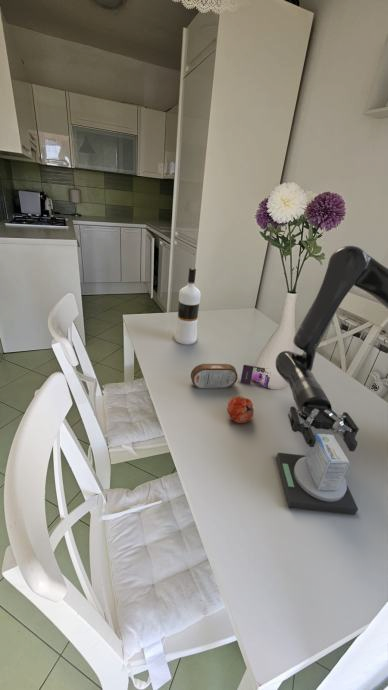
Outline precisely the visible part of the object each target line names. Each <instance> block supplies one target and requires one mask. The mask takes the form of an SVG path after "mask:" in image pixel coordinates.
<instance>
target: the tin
mask: <svg viewBox="0 0 388 690" xmlns="http://www.w3.org/2000/svg"><path fill="white" fill-rule="evenodd" d="M236 369H237V368H236V367H235V366H234V365H232V364H229V363H201V364H198V365H196V366H195V367H193V369H192V370H191V373H190V379H191V383H192V384H193V386H195V388H198V389H212V388H213V389H215V388H217V389H218V388H220V389H221V388H231V387H233V386H234V385H235V384H236V382H237V380H238V373H237V370H236Z"/></svg>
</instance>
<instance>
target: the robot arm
mask: <svg viewBox="0 0 388 690" xmlns="http://www.w3.org/2000/svg"><path fill="white" fill-rule="evenodd" d="M353 287H356V288H358V289H360V290H362V291H364V292H366V293H367V294H369V295H371V296H372V297H373V298H374V299H376V300H377V301H378V302H379V303H381V305H383V306H384V307H385V308H386V309H388V267H386V266H384V265H383V264H382V263H380V262H379V261H377V260H376V259H375V258H374V257H372V256H371V255H369V254H368V253H367V252H366V251H365V250H364V249H363V248H361V247H359V246H356V245H344V246H342V247H340V248H338V249H336V250H335V251H334V252H333V253H332V254H331V255H330V257H329V259H328V263H327V267H326V270H325V274H324V277H323V280H322V283H321V285H320V288H319V291H318V292H317V295H316V297H315V299H314V301H313V303H312V304H311V306H310V308H309V309H308V311H307V313H306V314H305V316H304V318H303V320H302V321H301V324H300V325H299V327H298V329H297V332H296V333H295V335H294V337H293V339H292V340H293V341H292V342H293V344H294V346H295V347H296V348H298V349H299V350H301V351H302V354H300V353H298V352H294V351H290V350H283V351H280V352H279V353H278V354H277V356H276V358H275V369H276V371H277V373H278V375H279V376H280V378H282V379H283V380H284V381H285V382H286V383H287V384H288V385H289V388H290V391H291V395H292V398H293V400H294V403H295V405H296V407H295V406H290V408H289V411H288V414H287V417H288V420H289V424H290V428H291V431H292V432H293V433H298V432H299V433H300V434H301V435H302V437H303V439H304V442H305V443H306V445H308V448H309V447H314V445H315V442H316V439H315V437H314V434H315V433H314V432H313V430H312V428H314V429H315V430H320V429H321V430H325V431H329V432H331V433H333V435H338V436H340V437H341V438H342V440H343V442H344V444H345V445H346V447H347V449H348V451H349V452H353V453H354V452H355V451H356V449H357V447H358V444H359V443H358V441H357V439H356V436H357V435H358V432H359V430H360V428H359V427H358V426H357V424H356V423H355V422H354V420H353V418H352V417H351V416H350V413H348V412H346V411H343V412H342V414H337V413H336V412H335V411H334V410H333V407H332V404H331V401H330V400H329V398H328V396H327V394H326V392H325V390H324V389H323V387H322V386H321V384H320V383H319V382H318V380H317V379H316V377H315V375H314V374H313V373H312V370H313V366H314V362H315V358H316V354H317V350H318V348H319V345H320V344H321V343H322V340H323V339H324V337H325V335H326V333H327V332H328V329H329V327H330V325H331V323H332V321H333V319H334V317H335V315H336V313H337V311H338V309H339V308H340V306H341V304H342V302H343V301H344V299H345V298H346V296H347V295H348V294H349V292H350V291H351V290H352V288H353ZM300 419H302V420H303V421H304V423H301V421H300ZM335 424H336V426H335V427H334V425H335Z"/></svg>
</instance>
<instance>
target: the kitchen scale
mask: <svg viewBox="0 0 388 690" xmlns="http://www.w3.org/2000/svg"><path fill="white" fill-rule="evenodd" d="M305 458H306V454H305V455H304V454H296V453H295V454H294V453H286V452H277V453H276V457H275V461H276V465H277V469H278V473H279V477H280V481H281V484H282V488H283V489H282V490H283V492H284V497H285V500H286V505H287V508H288V509H296V510H304V511H312V512H313V511H314V512H323V513H333V514H341V515H350V516H351V515H352V516H355V515H356V514H357V512H358V511H359V508H358V506H357V503H356V501H355V498H354V497H353V495H352V493H351V490H350V488H349V486H348V484H347V480H346V478H345V476H344V477H343V479H342V481H341V483H340V485H339V487H338V490H337V491H333V490H318V489H317V487H316V484H315V482H314V480H313V478H312V476H311V473H310V471H309V469H308V467H307V465H306V463H305Z"/></svg>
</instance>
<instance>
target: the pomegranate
mask: <svg viewBox="0 0 388 690" xmlns="http://www.w3.org/2000/svg"><path fill="white" fill-rule="evenodd" d="M253 407H254V405H253V403H252V400H251V399H250V398H247V397H243V396H233V397H232V398H231V399H229V401H228V403H227V408H226V412H227V414H228V415H229V418H230V420H231V421H233V422H235V423H237V424H244V423H247V422H250V421H251V420H252V419H253V418H254V415H255V410H254V408H253Z"/></svg>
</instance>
